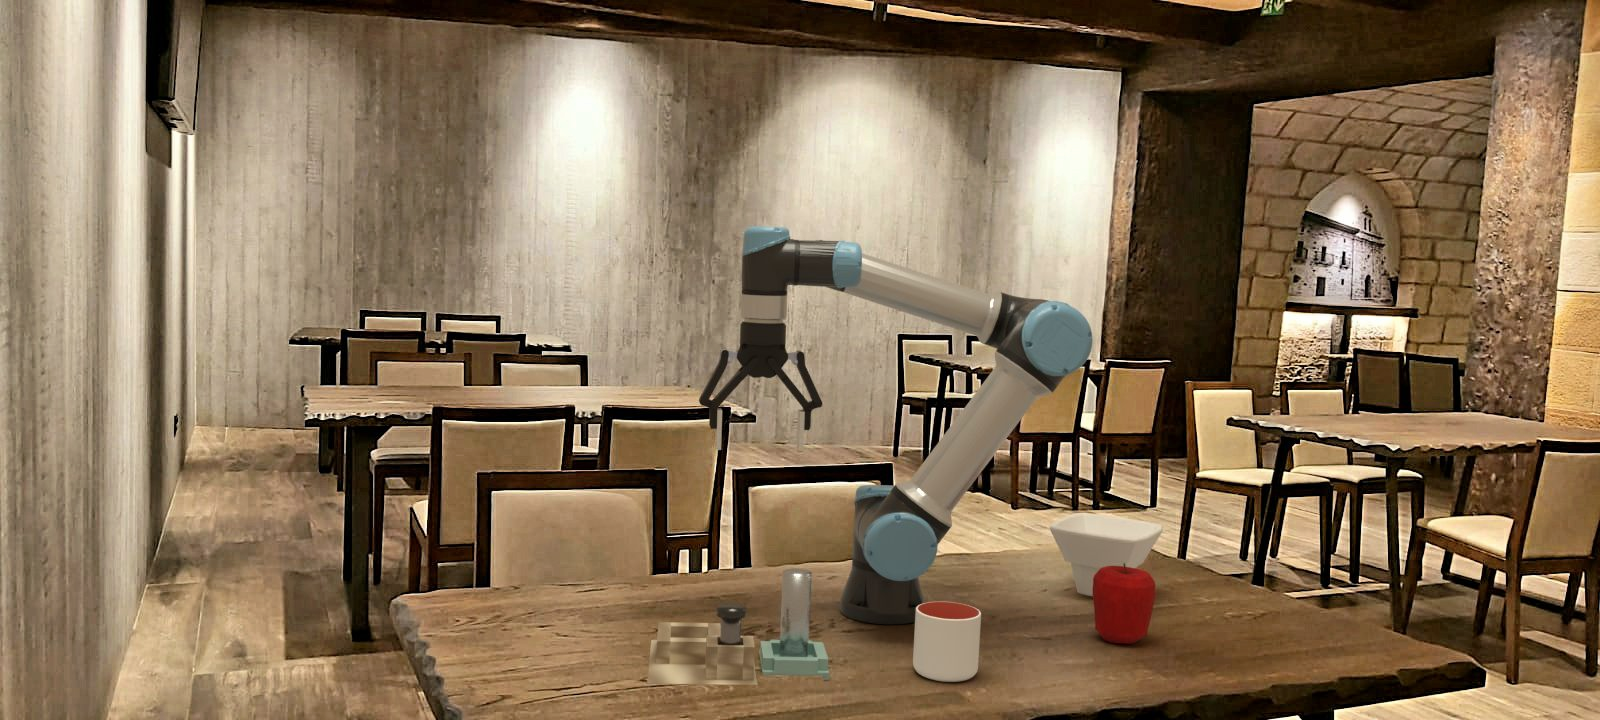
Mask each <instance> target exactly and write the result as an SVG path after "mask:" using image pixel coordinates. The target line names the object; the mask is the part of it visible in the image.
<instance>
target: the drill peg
mask: <svg viewBox="0 0 1600 720" xmlns="http://www.w3.org/2000/svg"><path fill="white" fill-rule="evenodd" d="M812 574H813V573H812V571H811V570H809V569H804V568H799V567H797V568H786V569H783V570H782V582H781V583H782V584H781V604H780V605H781V606H780V608H781V609H780V627H779V628H780V629H779V640H780V649H779V657H808V642H809V640H810V636H809V635H810V621H811V620H810V616H811V594H812V593H811V592H812Z"/></svg>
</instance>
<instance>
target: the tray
mask: <svg viewBox="0 0 1600 720" xmlns="http://www.w3.org/2000/svg"><path fill="white" fill-rule="evenodd" d="M779 649H780V639H770V640H766V641H765V640H760V646H759V650H758V656H759V657H758V658H759V662H760V668H761V674H762V675H764V676H768V675H769V676H771V675H772V676H822V678H823V681H829V680H830V670H829V657H828V654H827V650H826V648H825V645H824V642H823V641H813V640H810V639H809V642H808V657H779Z"/></svg>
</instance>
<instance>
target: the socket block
mask: <svg viewBox="0 0 1600 720" xmlns="http://www.w3.org/2000/svg"><path fill="white" fill-rule="evenodd" d="M657 626H658V627H657V637H656V639H651V641H650V650H649V660H648V667H647V668H648V669H647V670H648V671H647V681H646V685H704V686H705V685H711V686H713V685H714V686H715V685H717V686H719V685H720V686H724V685H725V686H737V685H738V686H758V680H757V674H756V673H757V671H756V665H755V653H756V651H755V649H756V647H755V640H754V636H753V635H741V639H740V645H720V634H721V622H680V621H679V622H676V621H675V622H670V621H669V622H668V621H662V622H661V621H659V622H658V624H657Z"/></svg>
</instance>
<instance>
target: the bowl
mask: <svg viewBox="0 0 1600 720" xmlns="http://www.w3.org/2000/svg"><path fill="white" fill-rule="evenodd" d="M1163 528H1164V526H1163V525H1162V524H1159V523H1155V522H1154V523H1153V522H1149V521H1144V520H1138V519H1131V518H1128V517H1122V516H1121V517H1120V516H1114V515H1105V514H1098V513H1090V512H1089V513H1088V512H1077V513H1072V514H1068V515H1067V516H1064V517H1061V518H1058V519H1056V520H1055V521H1053V522H1052V523H1051V524H1050V526H1049V530H1050V532H1051V535H1052V537H1053V539H1054V541H1055V543H1056V545H1057V546H1058V549H1059V551H1060V553H1061V556H1063V558H1064V562H1066V563H1067V562H1068V563H1070V565H1071V569H1072V570H1071V571H1072V574H1073V578H1074V584H1075V588H1076V592H1077V593H1078V594H1081V595H1085V596H1089V597H1093V592H1092V589H1093V577H1094V575H1095V574H1096V573H1097V572H1098V570H1099V569H1100V568H1102V567H1106V566H1124V565H1123V564H1124V563H1125V567H1130V568H1136V569H1137V568H1138V567H1139V566H1140V565H1142V564H1144V562H1145V560H1146V559H1147V557H1148V555H1149V554H1150V552H1151V550H1152V549H1153V548H1154V546H1155V544H1156V543H1157V541H1158V540H1159V538H1160V536H1161V534H1162V533H1163V530H1164V529H1163Z"/></svg>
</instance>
